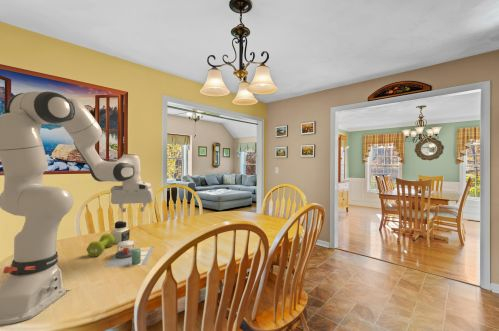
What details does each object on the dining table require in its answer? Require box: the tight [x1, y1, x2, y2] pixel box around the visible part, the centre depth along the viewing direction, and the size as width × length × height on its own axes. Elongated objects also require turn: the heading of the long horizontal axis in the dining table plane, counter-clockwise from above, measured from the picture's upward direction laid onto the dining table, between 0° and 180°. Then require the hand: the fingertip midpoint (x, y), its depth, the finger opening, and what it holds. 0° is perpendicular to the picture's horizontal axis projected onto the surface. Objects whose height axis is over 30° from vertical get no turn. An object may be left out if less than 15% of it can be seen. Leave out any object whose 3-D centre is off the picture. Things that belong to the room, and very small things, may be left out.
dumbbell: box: [86, 233, 115, 257], centre depth 126 cm, size 16×8×7 cm, turn 7°
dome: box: [116, 240, 135, 253], centre depth 119 cm, size 7×7×3 cm
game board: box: [104, 246, 155, 268], centre depth 118 cm, size 23×17×4 cm
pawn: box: [132, 249, 141, 266], centre depth 110 cm, size 4×4×6 cm
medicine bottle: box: [110, 220, 131, 245], centre depth 140 cm, size 7×7×12 cm
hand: (133, 211), depth 123 cm, fingers open, 8 cm apart
